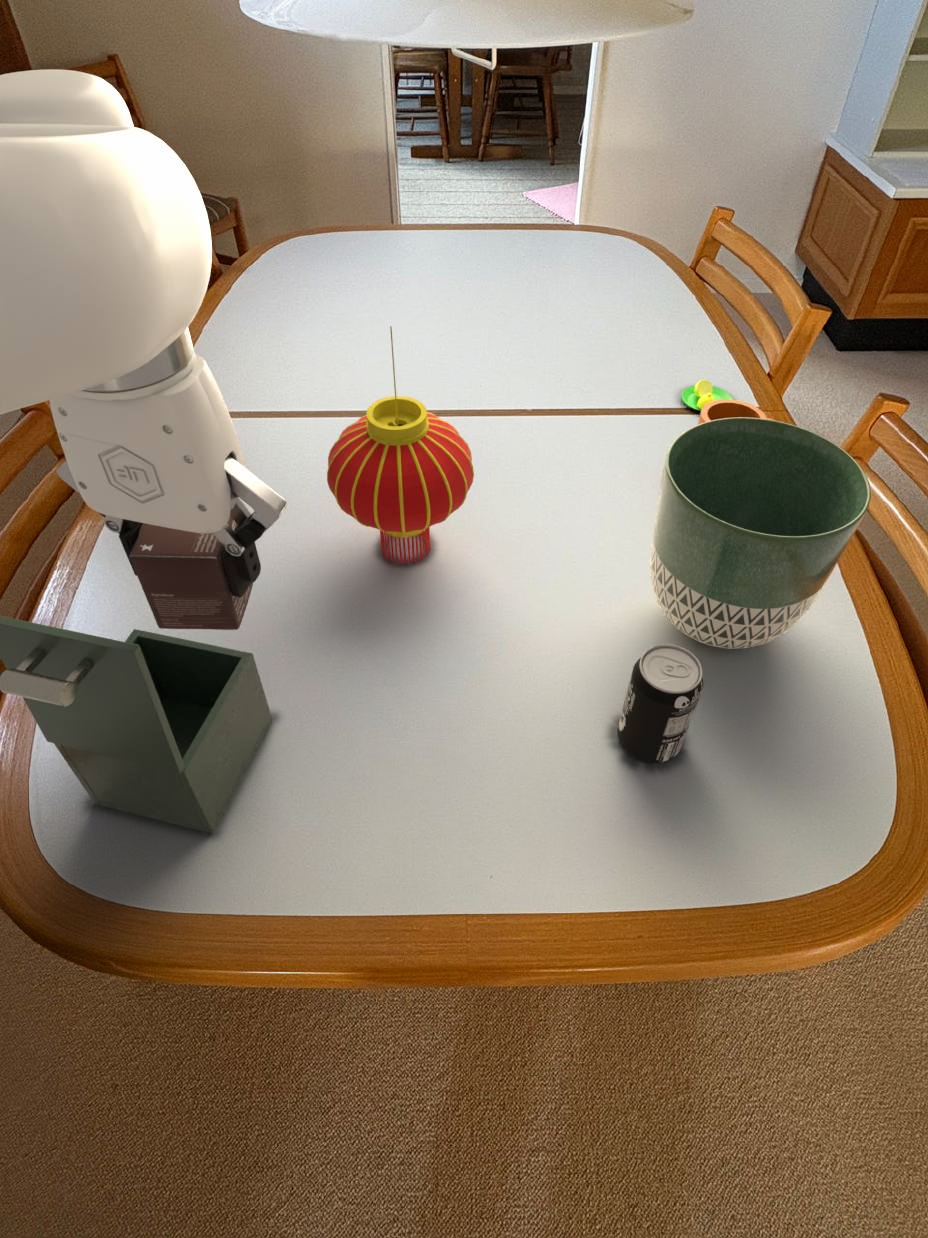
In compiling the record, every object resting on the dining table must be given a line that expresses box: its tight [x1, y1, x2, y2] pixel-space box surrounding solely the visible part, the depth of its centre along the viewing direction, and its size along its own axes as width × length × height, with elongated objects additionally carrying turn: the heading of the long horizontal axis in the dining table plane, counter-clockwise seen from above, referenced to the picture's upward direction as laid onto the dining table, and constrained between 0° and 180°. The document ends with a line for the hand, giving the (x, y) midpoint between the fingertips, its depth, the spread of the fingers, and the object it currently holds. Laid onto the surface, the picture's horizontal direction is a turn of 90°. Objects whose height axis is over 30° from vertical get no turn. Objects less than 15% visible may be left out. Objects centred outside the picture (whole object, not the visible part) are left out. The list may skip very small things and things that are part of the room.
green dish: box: [681, 379, 734, 412], centre depth 124 cm, size 8×8×3 cm
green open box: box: [53, 628, 273, 834], centre depth 75 cm, size 14×13×11 cm
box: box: [129, 516, 254, 631], centre depth 56 cm, size 6×6×7 cm
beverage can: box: [616, 643, 705, 765], centre depth 77 cm, size 7×7×12 cm
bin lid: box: [0, 615, 184, 773], centre depth 60 cm, size 14×13×5 cm
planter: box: [649, 417, 872, 650], centre depth 85 cm, size 20×20×21 cm
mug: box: [697, 399, 776, 425], centre depth 109 cm, size 9×12×9 cm
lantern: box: [326, 325, 475, 565], centre depth 90 cm, size 17×17×30 cm
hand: (198, 572), depth 57 cm, fingers closed on box, 6 cm apart
